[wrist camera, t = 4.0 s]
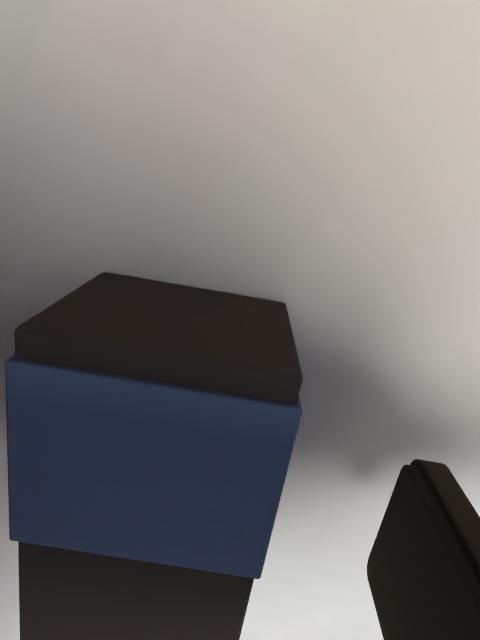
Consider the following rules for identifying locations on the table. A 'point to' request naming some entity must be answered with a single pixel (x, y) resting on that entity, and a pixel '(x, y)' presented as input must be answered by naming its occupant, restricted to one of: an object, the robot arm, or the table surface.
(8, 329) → the table surface
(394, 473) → the table surface
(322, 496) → the table surface
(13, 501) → the eraser
